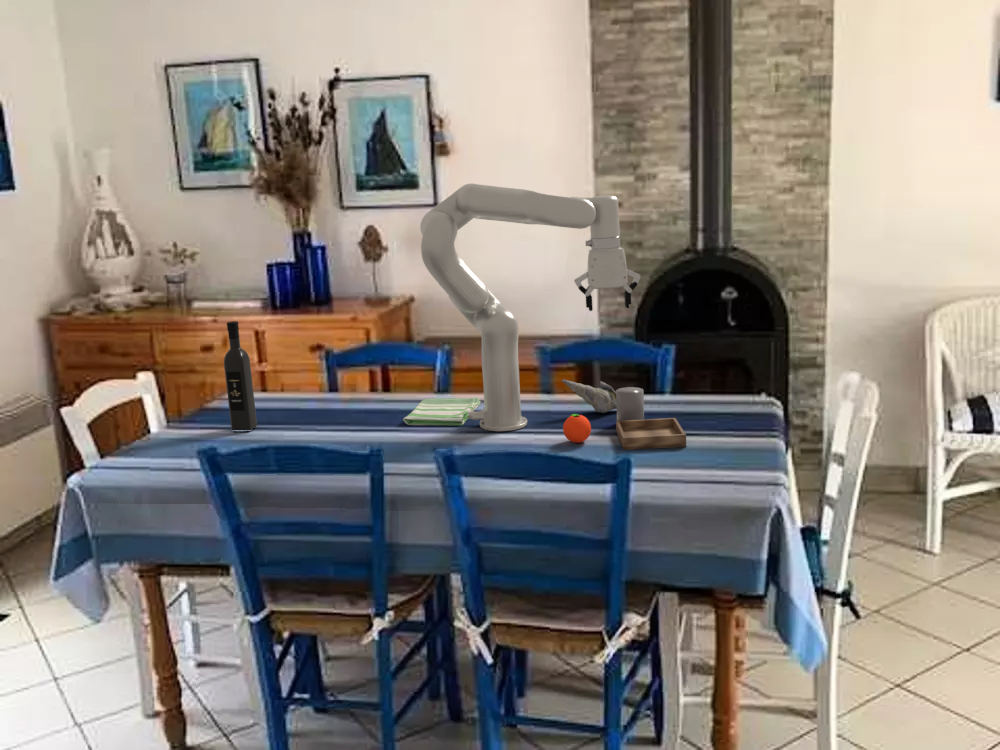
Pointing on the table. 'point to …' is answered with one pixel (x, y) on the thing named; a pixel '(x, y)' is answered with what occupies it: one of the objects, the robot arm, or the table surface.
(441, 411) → the dish towel
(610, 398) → the seashell
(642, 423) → the walnut tray
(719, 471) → the table surface
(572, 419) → the clementine
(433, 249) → the robot arm
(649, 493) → the table surface
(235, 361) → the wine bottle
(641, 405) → the grey rounded cylinder
